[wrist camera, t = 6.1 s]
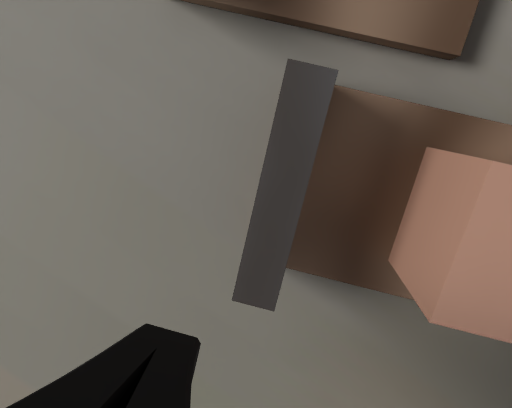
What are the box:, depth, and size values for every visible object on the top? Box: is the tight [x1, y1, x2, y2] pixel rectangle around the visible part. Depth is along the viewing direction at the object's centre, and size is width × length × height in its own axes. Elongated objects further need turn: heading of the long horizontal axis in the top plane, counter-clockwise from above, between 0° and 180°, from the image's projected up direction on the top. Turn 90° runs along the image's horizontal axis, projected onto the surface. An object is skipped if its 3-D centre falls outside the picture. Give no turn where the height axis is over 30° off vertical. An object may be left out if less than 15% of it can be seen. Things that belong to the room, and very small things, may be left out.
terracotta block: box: [388, 147, 512, 343], centre depth 13 cm, size 5×5×5 cm
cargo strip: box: [232, 59, 512, 311], centre depth 14 cm, size 12×8×5 cm, turn 77°
